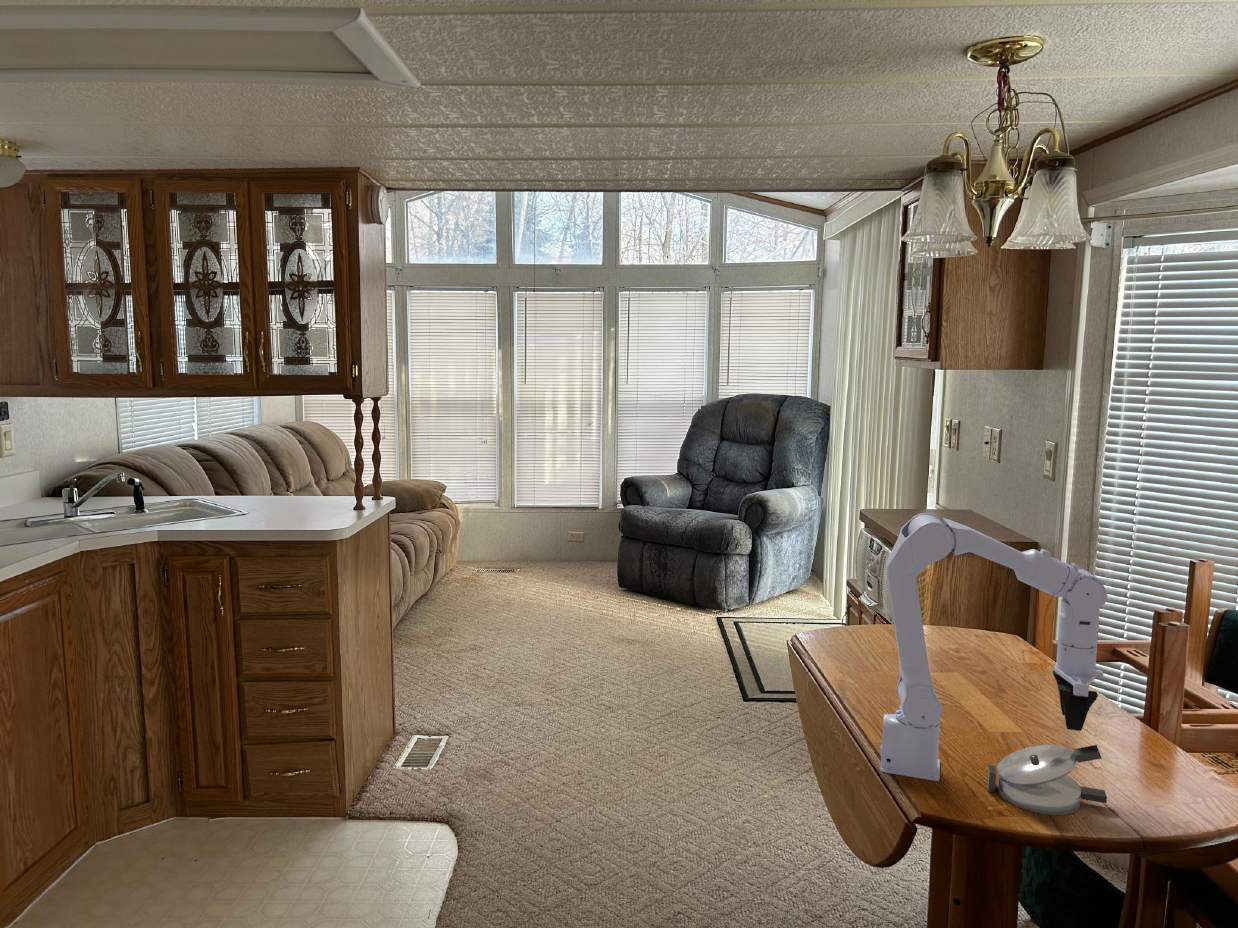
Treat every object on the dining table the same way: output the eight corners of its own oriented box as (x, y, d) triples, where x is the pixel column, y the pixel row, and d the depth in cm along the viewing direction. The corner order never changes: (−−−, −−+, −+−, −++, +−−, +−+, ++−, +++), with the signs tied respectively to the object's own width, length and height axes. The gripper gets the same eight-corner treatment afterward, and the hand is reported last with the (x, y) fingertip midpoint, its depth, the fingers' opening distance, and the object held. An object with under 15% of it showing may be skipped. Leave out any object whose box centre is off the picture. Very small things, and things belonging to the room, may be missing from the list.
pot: (989, 804, 136) (990, 785, 135) (986, 770, 147) (987, 753, 146) (1111, 825, 130) (1112, 805, 129) (1098, 788, 141) (1099, 770, 140)
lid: (1000, 790, 135) (996, 780, 135) (996, 757, 146) (993, 747, 146) (1107, 772, 129) (1102, 760, 129) (1094, 739, 140) (1090, 728, 140)
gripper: (1113, 660, 132) (1106, 744, 134) (1097, 632, 146) (1091, 709, 147) (1062, 654, 135) (1056, 736, 136) (1051, 627, 148) (1046, 702, 150)
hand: (1071, 722), depth 142 cm, fingers open, 5 cm apart
